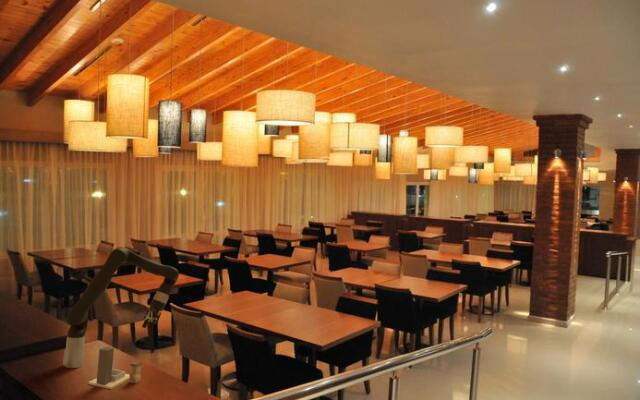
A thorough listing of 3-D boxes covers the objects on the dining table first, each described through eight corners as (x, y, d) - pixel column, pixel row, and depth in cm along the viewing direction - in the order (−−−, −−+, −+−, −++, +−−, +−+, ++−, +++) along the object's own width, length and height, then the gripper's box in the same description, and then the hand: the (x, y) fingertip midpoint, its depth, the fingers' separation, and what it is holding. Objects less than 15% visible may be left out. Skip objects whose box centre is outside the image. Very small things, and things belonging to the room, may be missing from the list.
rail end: (129, 381, 262) (130, 363, 262) (133, 379, 266) (135, 361, 266) (135, 383, 261) (137, 364, 261) (140, 380, 265) (141, 362, 264)
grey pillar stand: (88, 384, 254) (91, 347, 254) (111, 372, 272) (114, 338, 272) (111, 389, 251) (114, 352, 250) (133, 377, 268) (136, 343, 268)
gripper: (148, 297, 279) (135, 324, 273) (159, 299, 268) (145, 327, 262) (160, 302, 283) (147, 329, 277) (170, 304, 272) (157, 332, 266)
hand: (146, 328), depth 269 cm, fingers open, 8 cm apart
